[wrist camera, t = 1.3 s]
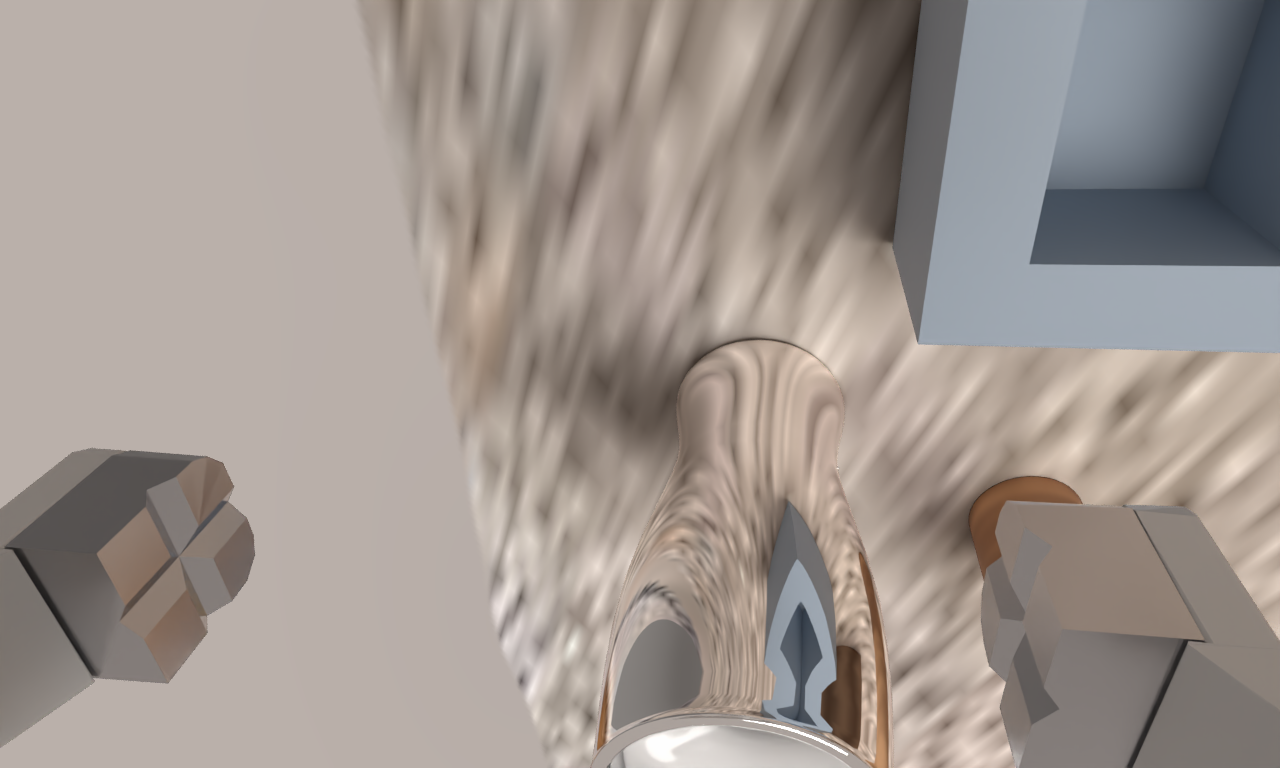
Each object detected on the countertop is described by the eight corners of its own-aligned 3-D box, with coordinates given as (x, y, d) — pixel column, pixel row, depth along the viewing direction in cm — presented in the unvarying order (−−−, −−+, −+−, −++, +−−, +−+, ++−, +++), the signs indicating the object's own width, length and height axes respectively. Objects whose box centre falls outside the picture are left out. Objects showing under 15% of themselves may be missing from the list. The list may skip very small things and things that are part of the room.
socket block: (937, -133, 20) (987, -129, 15) (1403, -165, 18) (1634, -171, 13) (892, 247, 25) (917, 344, 20) (1247, 249, 23) (1369, 354, 19)
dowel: (978, 473, 30) (1051, 714, 21) (1095, 479, 29) (1218, 730, 21) (961, 552, 32) (1021, 798, 23) (1070, 559, 31) (1171, 815, 23)
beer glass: (709, 501, 32) (660, 905, 20) (633, 362, 29) (518, 738, 17) (882, 455, 30) (949, 886, 17) (818, 299, 27) (844, 684, 14)
